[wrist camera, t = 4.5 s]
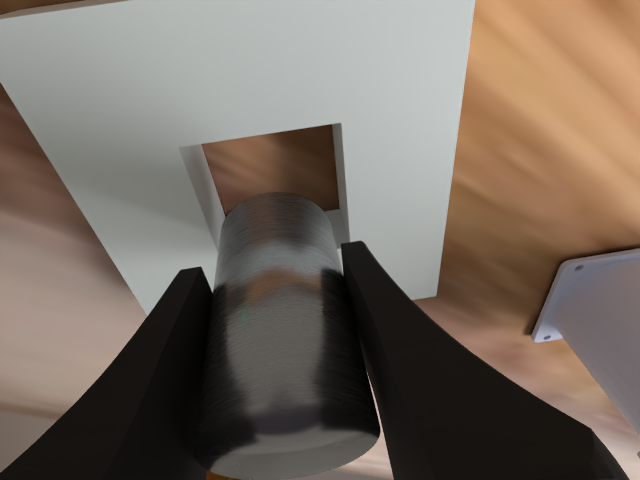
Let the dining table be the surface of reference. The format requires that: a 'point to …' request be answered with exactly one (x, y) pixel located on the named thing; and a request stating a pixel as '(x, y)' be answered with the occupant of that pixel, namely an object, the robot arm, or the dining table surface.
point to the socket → (243, 117)
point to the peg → (281, 349)
